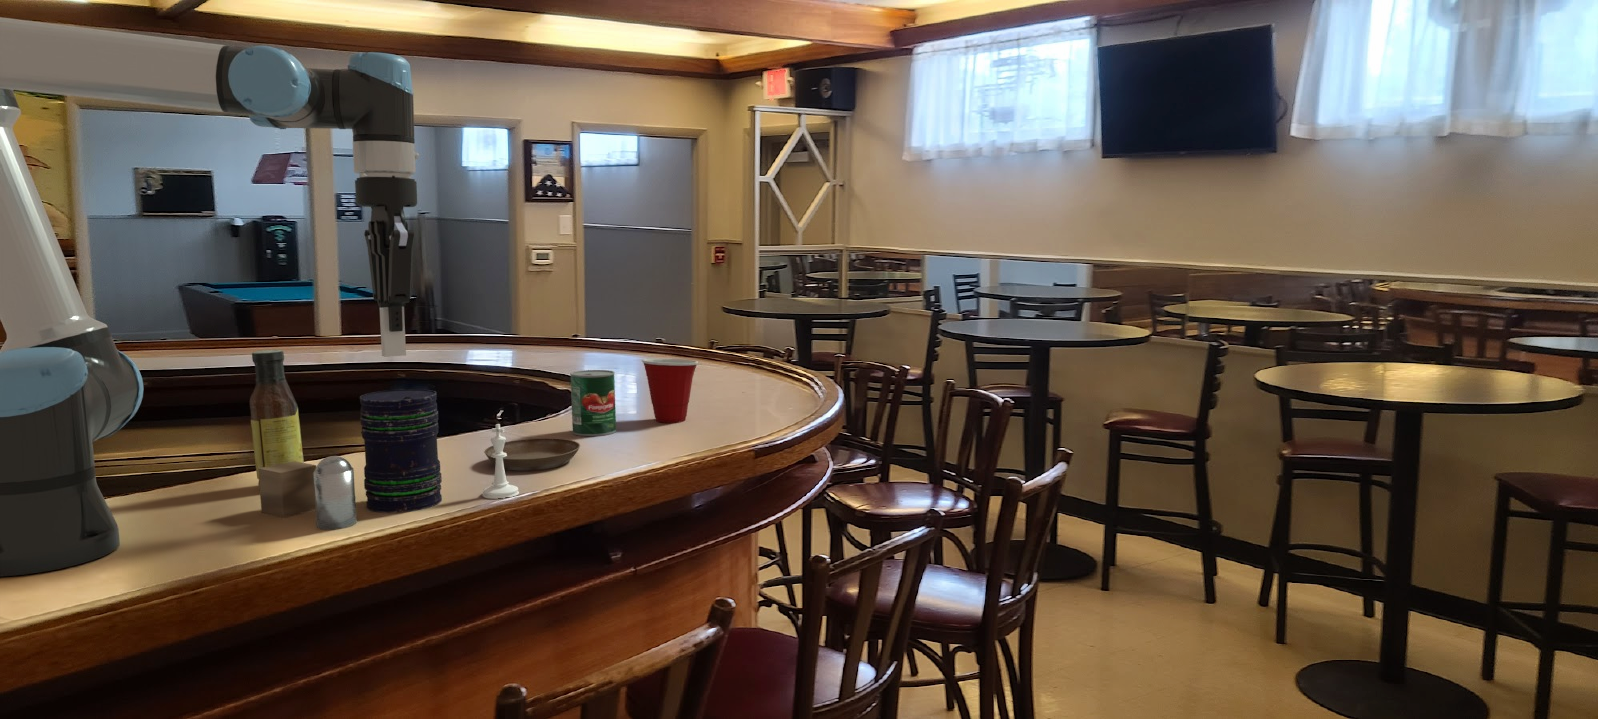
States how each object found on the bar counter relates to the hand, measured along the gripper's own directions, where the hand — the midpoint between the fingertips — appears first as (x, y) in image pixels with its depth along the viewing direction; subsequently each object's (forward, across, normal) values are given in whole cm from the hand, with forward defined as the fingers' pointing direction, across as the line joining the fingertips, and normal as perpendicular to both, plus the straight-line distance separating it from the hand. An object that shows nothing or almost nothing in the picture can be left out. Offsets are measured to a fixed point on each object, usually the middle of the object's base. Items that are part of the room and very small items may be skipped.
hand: (393, 355), depth 139 cm
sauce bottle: (+21, +21, +10) cm, 31 cm away
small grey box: (+21, +6, +12) cm, 25 cm away
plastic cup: (+20, +29, -60) cm, 70 cm away
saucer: (+21, +12, -24) cm, 34 cm away
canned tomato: (+20, +28, -44) cm, 55 cm away
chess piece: (+20, -4, -12) cm, 24 cm away
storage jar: (+21, 0, 0) cm, 21 cm away
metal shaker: (+20, -5, +10) cm, 23 cm away
